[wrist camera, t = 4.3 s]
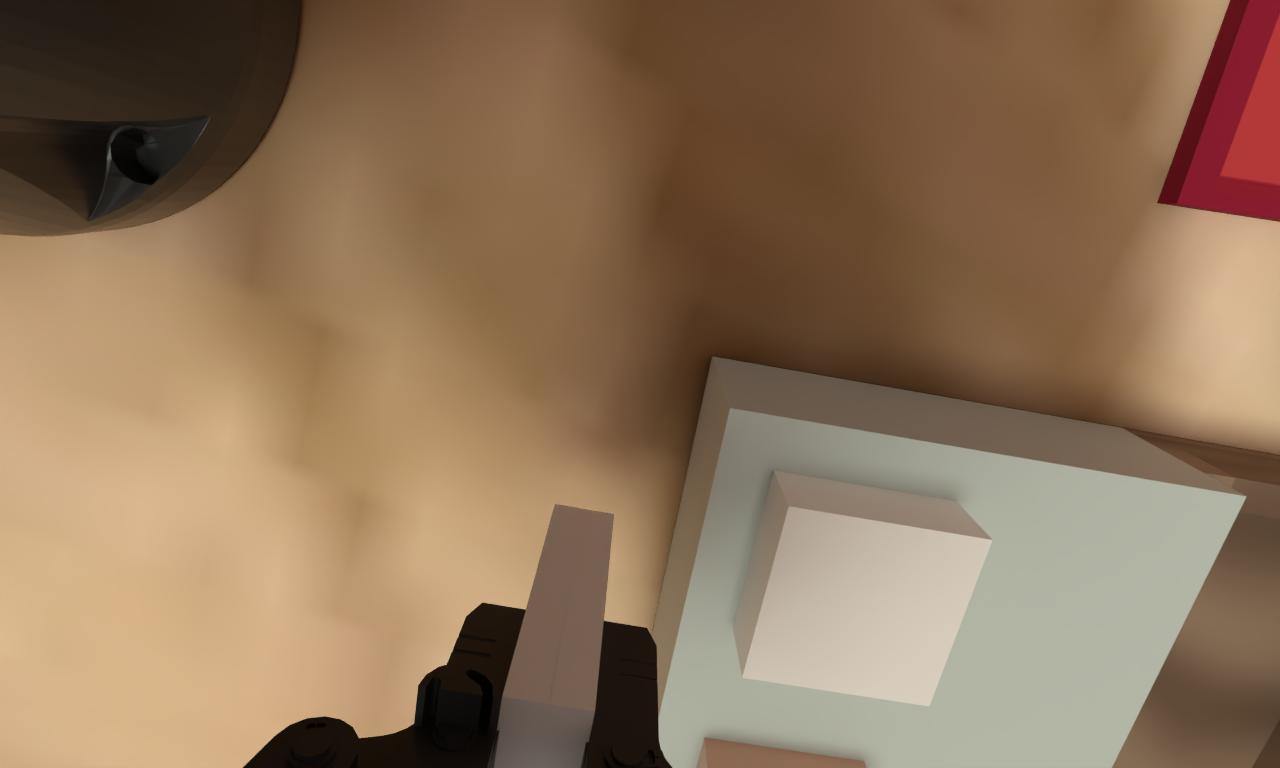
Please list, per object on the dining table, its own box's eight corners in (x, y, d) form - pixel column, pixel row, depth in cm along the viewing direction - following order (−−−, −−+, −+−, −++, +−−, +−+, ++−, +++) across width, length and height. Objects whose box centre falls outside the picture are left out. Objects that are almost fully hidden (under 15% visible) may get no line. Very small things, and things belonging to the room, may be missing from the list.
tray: (1121, 427, 23) (1203, 472, 20) (1427, 480, 23) (1557, 533, 20) (953, 827, 28) (994, 915, 25) (1205, 863, 29) (1278, 954, 25)
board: (712, 356, 22) (730, 408, 17) (1121, 427, 23) (1246, 496, 18) (620, 778, 28) (614, 906, 23) (953, 827, 28) (1015, 960, 24)
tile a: (773, 470, 18) (789, 506, 16) (956, 500, 18) (992, 540, 16) (732, 627, 20) (742, 677, 18) (902, 654, 20) (929, 706, 18)
